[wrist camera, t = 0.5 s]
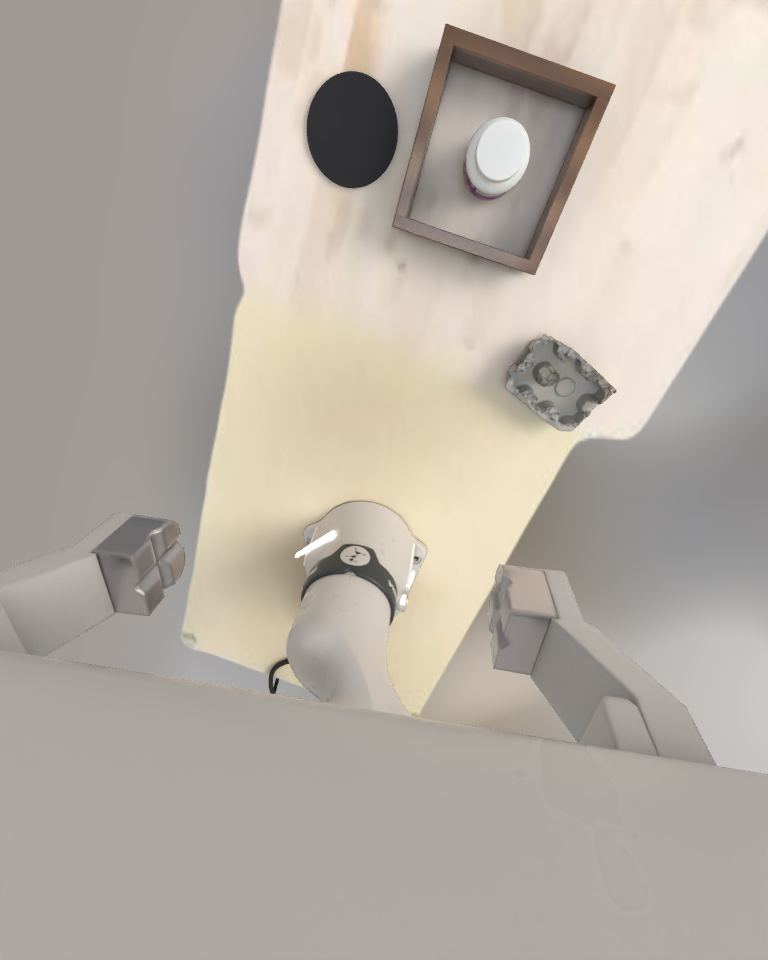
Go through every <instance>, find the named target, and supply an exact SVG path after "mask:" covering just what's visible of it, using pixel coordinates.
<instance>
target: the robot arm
mask: <svg viewBox="0 0 768 960" xmlns="http://www.w3.org/2000/svg"><path fill="white" fill-rule="evenodd" d="M180 535H181V532H180V528H179V524H178V523H177V522H175V521H173V520H167V519H160V518H154V517H148V516H141V515H133V514H127V513H115V514H112V515H111V516H110V517H109V518H107V519H106V520H105V521H104V522H102V523H101V524H100V525H99V526H98V527H97V528H95V529H94V530H93V531H91V532H90V533H89V534H88V535H86V536H85V537H84V538H83V539H81V540H80V541H79V542H78V543H76V544H75V545H74V546H73V547H72V548H70V549H69V550H68V549H61V550H58V551H55V552H52V553H50V554H47V555H44V556H41V557H38V558H36V559H33V560H30V561H27V562H24V563H22V564H19V565H16V566H13V567H10V568H8V569H4V570H2V571H0V960H768V774H763V773H757V772H751V771H745V770H738V769H732V768H726V767H720V766H717V765H716V763H715V761H714V759H713V757H712V755H711V754H710V752H709V750H708V748H707V746H706V744H705V742H704V740H703V738H702V736H701V734H700V732H699V730H698V728H697V726H696V724H695V723H694V721H693V719H692V717H691V715H690V713H689V711H688V709H687V707H686V706H685V705H684V704H683V703H681V702H680V701H679V700H678V699H677V698H676V697H674V696H673V695H672V694H671V693H670V692H668V690H666V689H665V688H664V687H663V686H662V685H661V684H659V683H658V682H657V681H656V680H655V679H654V678H653V677H651V676H650V675H649V674H648V673H647V672H646V671H644V670H643V669H642V668H641V667H640V666H639V665H638V664H637V663H635V662H634V661H633V660H632V659H631V658H630V657H628V656H627V655H626V654H625V653H624V652H623V651H622V650H620V649H619V648H618V647H617V646H616V645H615V644H613V643H612V642H611V641H610V640H609V639H608V638H607V637H605V636H604V635H603V634H602V633H601V632H599V631H598V630H597V629H596V628H595V627H594V626H593V625H592V624H590V623H584V621H583V618H582V616H581V613H580V610H579V608H578V605H577V602H576V600H575V597H574V594H573V592H572V589H571V586H570V584H569V581H568V578H567V576H566V574H565V573H564V572H563V571H554V570H545V569H542V570H540V569H532V568H524V567H516V566H509V565H501V564H499V566H498V568H497V571H496V575H495V581H496V588H495V589H493V590H492V591H491V595H490V600H489V607H488V626H489V630H490V631H491V633H492V634H493V638H492V641H491V653H492V661H493V668H494V669H498V670H504V671H510V672H515V673H521V674H527V675H531V678H532V679H533V681H534V682H535V684H536V685H537V686H538V688H539V689H540V691H541V692H542V694H543V695H544V696H545V698H546V699H547V700H548V702H549V703H550V705H551V706H552V707H553V708H554V710H555V712H556V713H557V714H558V716H559V717H560V718H561V720H562V721H563V723H564V724H565V725H566V727H567V728H568V730H569V731H570V732H571V734H572V735H573V736H574V738H575V739H576V741H577V742H578V743H572V742H566V741H560V740H553V739H548V738H542V737H536V736H529V735H523V734H517V733H510V732H505V731H499V730H492V729H486V728H480V727H474V726H468V725H462V724H456V723H449V722H443V721H437V720H431V719H425V718H419V717H413V716H412V715H411V714H410V712H409V711H408V710H407V708H406V707H405V705H404V704H403V702H402V701H401V699H400V697H399V696H398V694H397V692H396V690H395V688H394V685H393V683H392V681H391V678H390V674H389V671H388V665H387V647H388V634H389V626H390V624H391V623H392V621H393V618H394V617H395V616H397V615H398V613H399V611H401V612H404V611H405V609H406V605H407V601H408V597H406V596H408V594H409V591H410V588H411V586H412V584H413V582H414V580H415V578H416V575H417V573H418V571H419V569H420V567H421V565H422V563H423V561H424V559H425V556H426V553H427V549H426V547H425V546H424V545H423V544H422V543H421V542H420V541H419V540H417V539H416V538H415V537H414V536H413V535H412V534H411V532H410V530H409V528H408V527H407V525H406V523H405V522H404V521H403V520H402V519H401V518H400V517H399V516H398V515H397V514H396V513H395V512H393V511H392V510H390V509H388V508H386V507H384V506H382V505H379V504H376V503H372V502H364V501H357V502H349V503H345V504H342V505H340V506H338V507H336V508H334V509H333V510H331V511H330V512H329V513H328V514H327V515H326V516H325V517H324V518H323V519H322V520H321V521H319V522H316V523H313V524H311V525H309V526H307V527H306V528H305V531H304V540H305V545H306V548H304V549H303V550H301V551H299V552H298V553H297V554H296V556H295V557H296V558H297V557H299V556H301V555H302V554H304V553H306V555H305V558H304V561H303V566H304V567H305V571H306V575H307V578H306V581H305V583H304V586H303V591H302V595H301V605H300V607H299V610H298V612H297V615H296V617H295V620H294V622H293V625H292V627H291V630H290V632H289V635H288V638H287V644H286V652H287V658H288V659H287V660H284V661H282V662H279V663H278V664H276V665H275V666H274V667H273V668H272V670H271V671H270V675H269V689H270V693H265V692H259V691H252V690H246V689H240V688H234V687H228V686H222V685H216V684H209V683H203V682H197V681H191V680H184V679H178V678H172V677H166V676H160V675H154V674H148V673H141V672H135V671H129V670H123V669H117V668H111V667H104V666H98V665H92V664H86V663H79V662H74V661H67V660H61V659H55V658H49V657H45V656H47V655H48V654H50V653H51V652H53V651H55V650H57V649H58V648H60V647H61V646H63V645H65V644H66V643H68V642H70V641H71V640H73V639H75V638H76V637H78V636H80V635H81V634H83V633H84V632H86V631H88V630H89V629H91V628H93V627H94V626H96V625H98V624H99V623H101V622H103V621H104V620H106V619H107V618H109V617H111V616H112V615H114V614H115V612H118V613H127V614H134V615H143V616H149V615H150V614H151V613H152V612H153V610H154V609H155V608H156V607H157V605H158V604H159V603H160V602H161V600H162V599H163V598H164V589H165V588H167V587H169V586H171V585H173V584H175V583H176V581H177V580H178V579H179V577H180V576H181V574H182V571H183V568H184V565H185V552H184V548H183V547H182V546H181V545H180V544H179V542H178V541H177V539H178V538H179V537H180ZM414 557H418V558H414ZM286 664H290V666H291V668H292V670H293V672H294V674H295V676H296V677H297V679H298V680H299V681H300V683H301V684H302V685H303V686H304V687H305V688H306V689H308V690H309V691H310V692H311V693H312V694H313V695H315V696H316V697H317V698H318V699H319V700H320V701H321V702H320V701H313V700H308V699H302V698H295V697H289V696H283V695H277V694H275V693H276V690H277V686H278V683H279V678H276V680H275V683H274V687H273V675H274V672H275V671H276V669H278V668H279V667H281V666H283V665H286Z"/></svg>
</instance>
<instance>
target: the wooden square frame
mask: <svg viewBox="0 0 768 960" xmlns="http://www.w3.org/2000/svg"><path fill="white" fill-rule="evenodd" d="M452 61H454V62H456V63H459V64H462V65H465V66H468V67H470V68H473V69H476V70H479V71H482V72H484V73H487V74H490V75H493V76H495V77H498V78H501V79H504V80H507V81H509V82H512V83H515V84H518V85H521V86H523V87H526V88H529V89H532V90H535V91H537V92H540V93H543V94H546V95H548V96H551V97H554V98H557V99H560V100H562V101H565V102H568V103H571V104H574V105H576V106H579V107H582V108H585V109H586V110H585V112H584V115H583V117H582V120H581V122H580V125H579V127H578V130H577V132H576V134H575V137H574V139H573V142H572V144H571V147H570V149H569V151H568V154H567V156H566V159H565V161H564V164H563V166H562V168H561V171H560V173H559V176H558V178H557V181H556V183H555V185H554V188H553V190H552V193H551V195H550V198H549V200H548V203H547V205H546V207H545V210H544V212H543V215H542V217H541V220H540V222H539V224H538V227H537V229H536V232H535V234H534V237H533V239H532V241H531V244H530V246H529V249H528V251H527V254H526V256H525V258H522V257H519V256H516V255H513V254H511V253H508V252H505V251H502V250H499V249H496V248H493V247H490V246H487V245H485V244H482V243H479V242H476V241H473V240H470V239H467V238H464V237H461V236H458V235H456V234H453V233H450V232H447V231H444V230H441V229H438V228H435V227H432V226H429V225H427V224H424V223H421V222H418V221H415V220H412V219H409V218H408V217H409V213H410V210H411V206H412V203H413V199H414V195H415V192H416V188H417V185H418V181H419V177H420V174H421V170H422V167H423V163H424V159H425V156H426V152H427V149H428V145H429V141H430V138H431V134H432V131H433V127H434V124H435V120H436V116H437V113H438V109H439V106H440V102H441V98H442V95H443V91H444V88H445V84H446V80H447V77H448V73H449V70H450V66H451V62H452ZM615 87H616V85H615V84H612V83H609V82H606V81H604V80H601V79H598V78H595V77H593V76H590V75H587V74H584V73H581V72H579V71H576V70H573V69H570V68H568V67H565V66H562V65H559V64H557V63H554V62H551V61H548V60H545V59H543V58H540V57H537V56H534V55H532V54H529V53H526V52H523V51H521V50H518V49H515V48H512V47H509V46H507V45H504V44H501V43H498V42H496V41H493V40H490V39H487V38H485V37H482V36H479V35H476V34H474V33H471V32H468V31H465V30H462V29H460V28H457V27H454V26H451V25H449V24H446V25H445V28H444V32H443V36H442V40H441V44H440V47H439V51H438V55H437V59H436V63H435V66H434V70H433V74H432V78H431V81H430V85H429V89H428V93H427V97H426V100H425V104H424V108H423V112H422V116H421V119H420V123H419V127H418V131H417V134H416V138H415V142H414V146H413V150H412V153H411V157H410V161H409V165H408V169H407V172H406V176H405V180H404V184H403V187H402V191H401V195H400V199H399V203H398V206H397V210H396V214H395V218H394V221H393V225H392V226H393V227H395V228H398V229H401V230H404V231H407V232H410V233H413V234H416V235H419V236H421V237H424V238H427V239H430V240H433V241H436V242H439V243H442V244H445V245H448V246H451V247H453V248H456V249H459V250H462V251H465V252H468V253H471V254H474V255H477V256H480V257H483V258H485V259H488V260H491V261H494V262H497V263H500V264H503V265H506V266H509V267H512V268H515V269H517V270H520V271H523V272H526V273H529V274H532V275H535V273H536V271H537V269H538V266H539V264H540V261H541V259H542V257H543V254H544V252H545V250H546V247H547V245H548V243H549V241H550V238H551V236H552V234H553V231H554V229H555V227H556V224H557V222H558V220H559V217H560V215H561V213H562V210H563V208H564V206H565V203H566V201H567V199H568V196H569V194H570V192H571V189H572V187H573V185H574V182H575V180H576V178H577V175H578V173H579V171H580V168H581V166H582V164H583V161H584V159H585V157H586V154H587V152H588V150H589V147H590V145H591V143H592V140H593V138H594V136H595V133H596V131H597V129H598V126H599V124H600V122H601V119H602V117H603V115H604V112H605V110H606V108H607V105H608V103H609V101H610V98H611V96H612V94H613V91H614V89H615Z"/></svg>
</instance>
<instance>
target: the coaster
mask: <svg viewBox="0 0 768 960" xmlns="http://www.w3.org/2000/svg"><path fill="white" fill-rule="evenodd" d="M397 135H398V127H397V118H396V113H395V110H394V107H393V104H392V101H391V99H390V97H389V96H388V94H387V92H386V91H385V89H384V88H383V87H382V86H381V85H380V84H379V83H378V82H377V81H376V80H375V79H373V78H372V77H370V76H368V75H366V74H364V73H360V72H353V71H349V72H343V73H340V74H337V75H335V76H333V77H331V78H330V79H329V80H327V81H326V82H325V83H324V84H323V85H322V86H321V88H320V89H319V90H318V92H317V93H316V95H315V97H314V99H313V101H312V103H311V106H310V110H309V114H308V119H307V138H308V144H309V148H310V151H311V154H312V157H313V159H314V161H315V163H316V164H317V166H318V168H319V169H320V170H321V172H322V173H323V174H324V175H325V176H326V177H327V178H329V179H330V180H331V181H333V182H334V183H336V184H338V185H341V186H344V187H348V188H357V187H363V186H366V185H368V184H370V183H372V182H374V181H375V180H376V179H378V178H379V177H380V176H381V175H382V174H383V173H384V171H385V170H386V169H387V167H388V166H389V164H390V162H391V160H392V158H393V155H394V152H395V148H396V144H397Z"/></svg>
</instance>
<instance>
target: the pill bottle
mask: <svg viewBox="0 0 768 960" xmlns="http://www.w3.org/2000/svg"><path fill="white" fill-rule="evenodd" d="M529 157H530V142H529V138H528V135H527V133H526V131H525V129H524V127H523V126H522V125H521V124H520V123H519V122H517V121H516V120H514V119H512V118H509V117H497V118H493V119H491V120H489V121H487V122H486V123H484V124H483V125H482V126H481V127H480V128H479V129H478V130H477V131H476V133H475V134H474V136H473V137H472V139H471V141H470V143H469V146H468V149H467V153H466V158H465V163H464V179H465V182H466V185H467V187H468V189H469V190H470V192H471V193H472V194H473V195H475V196H476V197H478V198H480V199H484V200H492V199H496V198H498V197H500V196H502V195H503V194H505V193H506V192H507V191H508V190H510V189H511V188H512V187H514V186H515V185H516V184H517V183H518V182H519V180H520V179H521V178H522V176H523V174H524V173H525V170H526V168H527V165H528V162H529Z"/></svg>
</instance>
